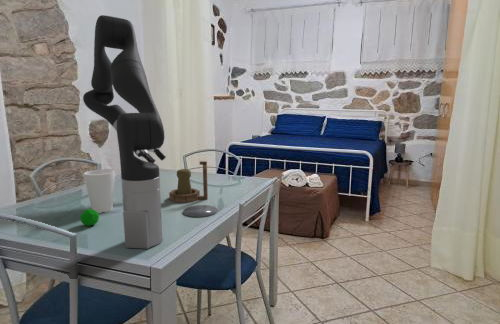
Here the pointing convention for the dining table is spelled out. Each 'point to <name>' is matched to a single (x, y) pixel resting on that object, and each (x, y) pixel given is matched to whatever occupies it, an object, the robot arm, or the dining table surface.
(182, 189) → the cork
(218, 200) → the dining table surface
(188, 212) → the slate coaster
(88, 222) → the polyhedron
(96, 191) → the foam cup
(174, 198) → the ring stand
